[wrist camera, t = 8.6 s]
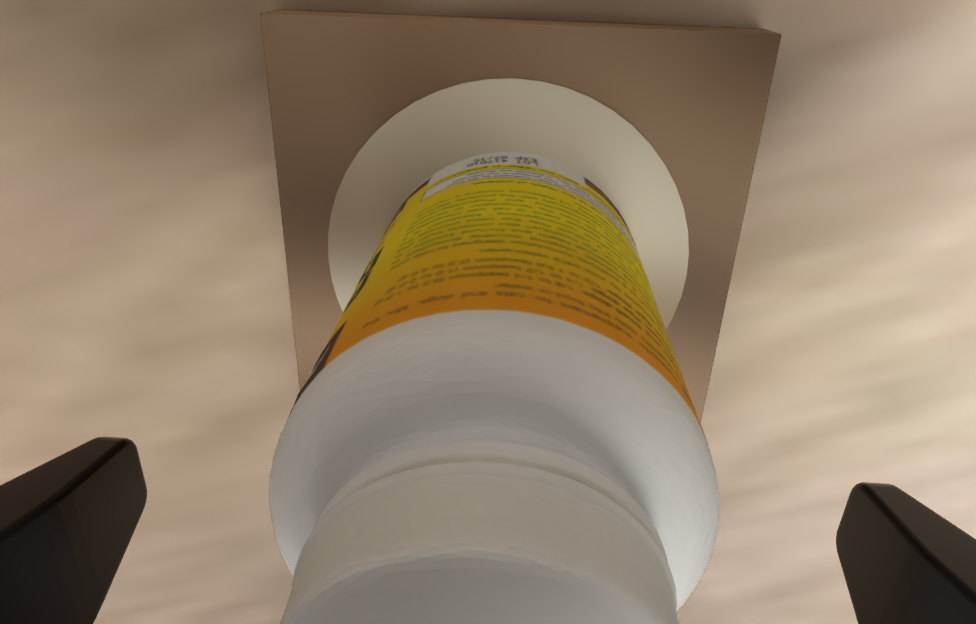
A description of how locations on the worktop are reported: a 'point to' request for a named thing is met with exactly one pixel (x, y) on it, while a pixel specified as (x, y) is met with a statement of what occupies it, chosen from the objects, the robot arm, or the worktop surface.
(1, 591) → the robot arm
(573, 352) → the supplement bottle
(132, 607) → the worktop surface
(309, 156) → the walnut board
